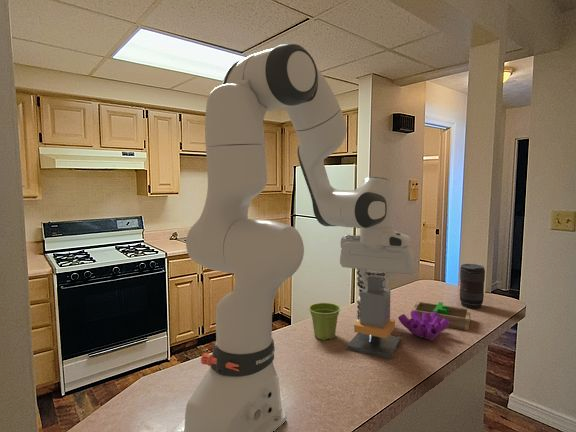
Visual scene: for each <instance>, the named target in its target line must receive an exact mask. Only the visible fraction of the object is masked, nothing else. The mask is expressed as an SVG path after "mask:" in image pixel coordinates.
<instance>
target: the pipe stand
mask: <svg viewBox="0 0 576 432" xmlns="http://www.w3.org/2000/svg"><path fill="white" fill-rule="evenodd" d="M401 342H402V337H399V336H395V335H391V334H390V335H389V336H388V338H387V339H386V338H382V337H377V336H372V335H367V334H362V333H357V332H356V334H355V335H354V337H353V338H352V339H351V340H350V341H349V342H348V343H347V345H346V350H349V351H353V352H358V353H362V354H366V355H371V356H376V357H378V358H383V359H388V360H392V358H393V356H394V355H395V353H396V351H397V349H398V348H399V346H400V344H401Z"/></svg>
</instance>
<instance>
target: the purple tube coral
mask: <svg viewBox="0 0 576 432" xmlns="http://www.w3.org/2000/svg"><path fill="white" fill-rule="evenodd" d="M410 316H411V318H412V319H411V318H408V316H407V315H406V314H401V315H399V316H398V321H399V322H400V323H401V325H402V326H403V327H405V328H406V329H407V331H409V332H410V333H412V335H415V336H417V337H421V338H424V339H427V340H434V339H436V338H437V337H438V334H440V333H442V332H444V331H446V329H447V328H449V327H448V325H449V324H450V322H449V321H448V320H447V319H445V318H444V319H443V320H442V318H440V317H439V314H438V313H436V312H431V314H430V317H429V313H422V320H421V318H420V316H419V313H418V311H412V310H411V311H410Z"/></svg>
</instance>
